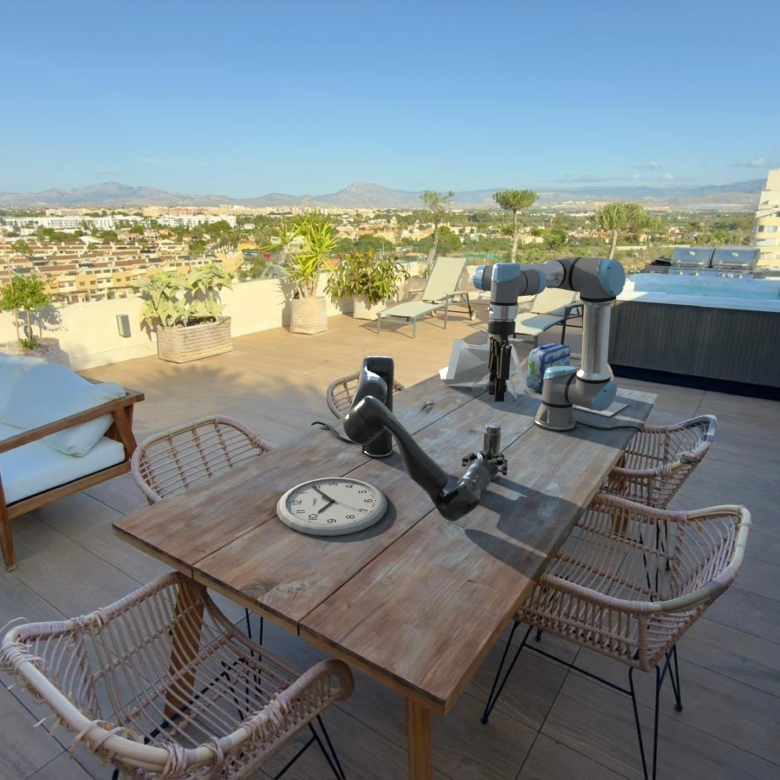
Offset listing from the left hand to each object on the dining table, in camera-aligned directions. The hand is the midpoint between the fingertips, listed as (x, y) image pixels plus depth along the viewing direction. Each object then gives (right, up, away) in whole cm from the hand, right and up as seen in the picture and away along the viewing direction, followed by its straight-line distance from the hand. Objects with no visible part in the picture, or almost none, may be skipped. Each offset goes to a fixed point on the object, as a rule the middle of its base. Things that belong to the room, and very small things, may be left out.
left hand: (492, 454), depth 161 cm
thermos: (-1, -7, 0) cm, 7 cm away
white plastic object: (+10, +19, +82) cm, 84 cm away
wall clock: (-48, -12, -19) cm, 52 cm away
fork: (-16, +13, +62) cm, 65 cm away
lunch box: (+44, +21, +91) cm, 103 cm away
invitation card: (+60, +13, +65) cm, 89 cm away
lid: (-1, +22, -9) cm, 23 cm away
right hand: (-1, +18, -8) cm, 19 cm away
